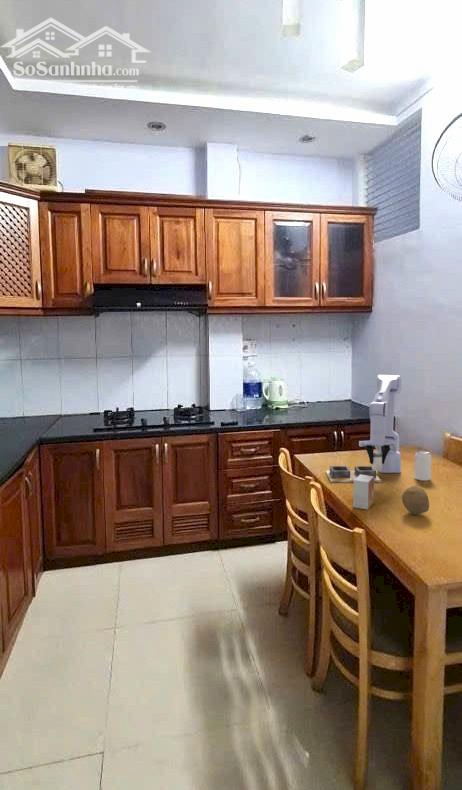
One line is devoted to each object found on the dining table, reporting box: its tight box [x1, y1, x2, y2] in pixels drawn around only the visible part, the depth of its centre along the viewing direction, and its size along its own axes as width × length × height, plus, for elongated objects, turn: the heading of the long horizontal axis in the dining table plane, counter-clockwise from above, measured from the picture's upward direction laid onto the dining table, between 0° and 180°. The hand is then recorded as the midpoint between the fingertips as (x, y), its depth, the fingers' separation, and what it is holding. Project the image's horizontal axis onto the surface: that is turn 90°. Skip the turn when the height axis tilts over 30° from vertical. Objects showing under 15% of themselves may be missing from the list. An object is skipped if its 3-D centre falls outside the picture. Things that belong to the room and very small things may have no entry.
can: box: [413, 449, 432, 482], centre depth 203 cm, size 6×6×12 cm
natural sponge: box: [401, 485, 430, 516], centre depth 165 cm, size 9×9×10 cm
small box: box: [352, 474, 375, 510], centre depth 174 cm, size 8×6×10 cm
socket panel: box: [325, 465, 382, 483], centre depth 207 cm, size 21×14×4 cm, turn 87°
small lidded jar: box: [371, 450, 383, 472], centre depth 193 cm, size 4×4×7 cm
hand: (376, 463), depth 194 cm, fingers closed on small lidded jar, 4 cm apart
